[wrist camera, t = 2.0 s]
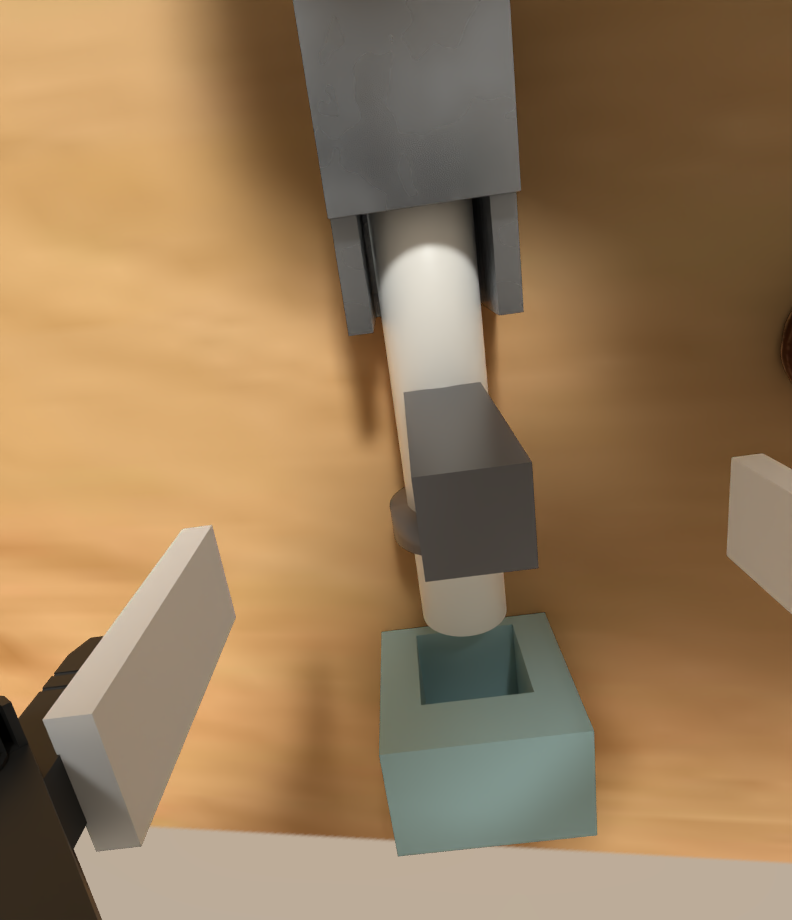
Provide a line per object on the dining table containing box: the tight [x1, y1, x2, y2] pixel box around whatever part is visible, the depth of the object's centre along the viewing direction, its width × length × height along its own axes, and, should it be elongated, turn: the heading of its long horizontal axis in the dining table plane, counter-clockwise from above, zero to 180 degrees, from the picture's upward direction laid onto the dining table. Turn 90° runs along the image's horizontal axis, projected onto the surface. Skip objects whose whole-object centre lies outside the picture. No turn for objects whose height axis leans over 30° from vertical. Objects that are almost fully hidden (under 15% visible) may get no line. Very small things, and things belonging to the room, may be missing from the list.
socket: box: [379, 612, 597, 856], centre depth 30 cm, size 6×9×8 cm, turn 98°
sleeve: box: [293, 0, 524, 336], centre depth 22 cm, size 12×6×7 cm, turn 8°
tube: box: [367, 199, 538, 636], centre depth 21 cm, size 25×6×14 cm, turn 8°
